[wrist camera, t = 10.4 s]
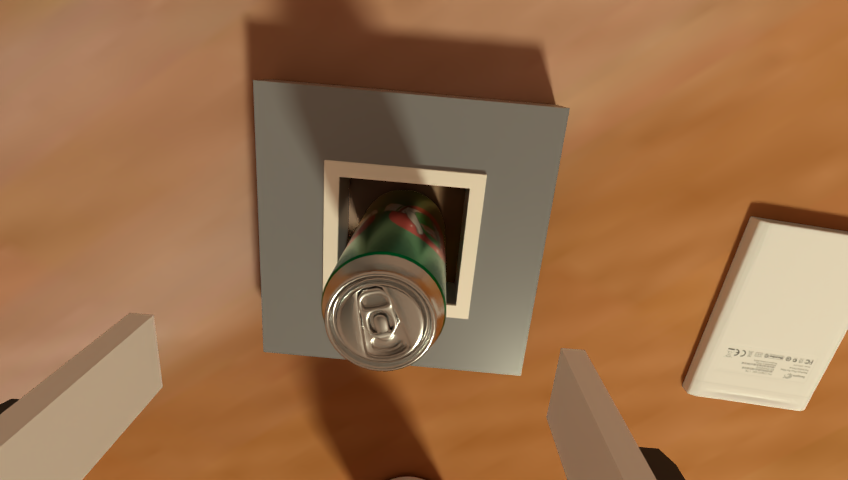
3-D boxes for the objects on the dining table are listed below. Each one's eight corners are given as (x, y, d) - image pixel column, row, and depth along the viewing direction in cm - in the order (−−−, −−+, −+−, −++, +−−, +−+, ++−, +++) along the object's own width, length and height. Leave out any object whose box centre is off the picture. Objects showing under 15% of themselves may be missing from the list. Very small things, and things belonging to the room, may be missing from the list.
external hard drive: (874, 233, 29) (790, 398, 33) (744, 213, 28) (677, 381, 33) (898, 242, 27) (808, 414, 31) (761, 221, 27) (689, 396, 31)
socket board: (279, 326, 32) (262, 353, 29) (273, 79, 26) (251, 80, 23) (513, 348, 32) (521, 377, 29) (555, 104, 26) (570, 108, 23)
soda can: (376, 271, 30) (336, 390, 19) (354, 197, 28) (295, 278, 17) (452, 255, 29) (459, 367, 18) (434, 178, 28) (429, 249, 17)
